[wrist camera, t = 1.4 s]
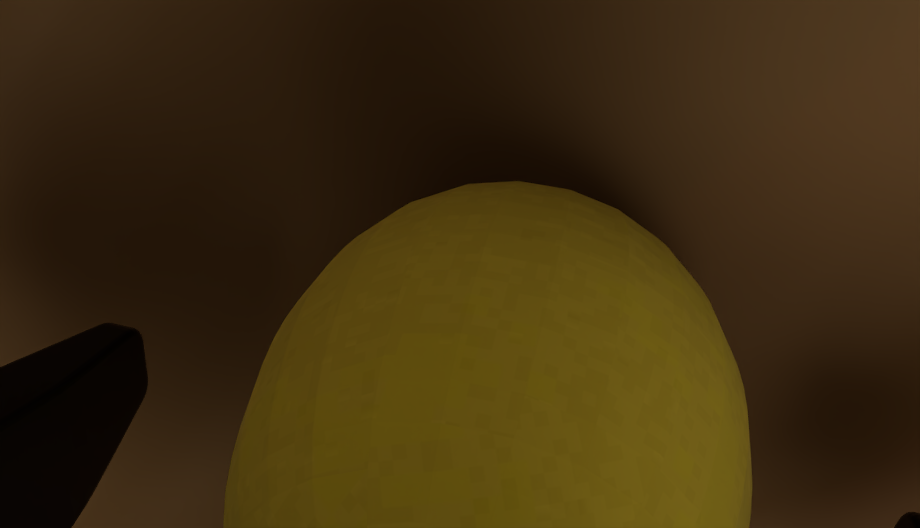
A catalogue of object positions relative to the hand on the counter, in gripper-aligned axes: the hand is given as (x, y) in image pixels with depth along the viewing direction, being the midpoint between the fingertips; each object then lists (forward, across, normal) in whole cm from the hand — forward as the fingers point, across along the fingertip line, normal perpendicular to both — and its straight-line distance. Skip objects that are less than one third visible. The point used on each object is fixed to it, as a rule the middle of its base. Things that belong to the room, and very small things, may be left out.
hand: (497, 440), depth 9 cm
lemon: (+4, 0, 0) cm, 4 cm away
